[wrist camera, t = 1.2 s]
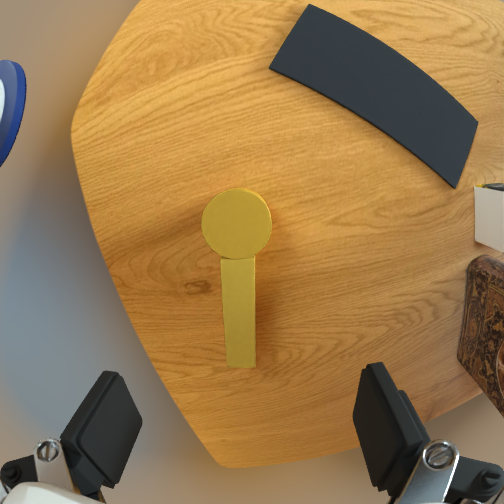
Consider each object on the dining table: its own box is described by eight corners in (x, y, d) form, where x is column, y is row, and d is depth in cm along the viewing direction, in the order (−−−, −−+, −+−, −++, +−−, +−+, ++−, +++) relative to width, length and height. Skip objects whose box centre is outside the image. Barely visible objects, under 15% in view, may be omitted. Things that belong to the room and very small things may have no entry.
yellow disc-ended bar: (268, 348, 31) (269, 367, 28) (217, 348, 31) (213, 367, 28) (270, 186, 26) (271, 189, 23) (206, 188, 26) (199, 190, 23)
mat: (268, 68, 23) (268, 67, 22) (308, 5, 20) (309, 3, 20) (453, 188, 25) (455, 188, 25) (476, 122, 22) (478, 122, 22)
